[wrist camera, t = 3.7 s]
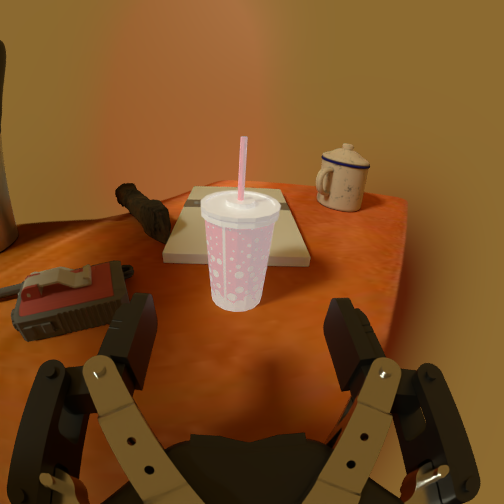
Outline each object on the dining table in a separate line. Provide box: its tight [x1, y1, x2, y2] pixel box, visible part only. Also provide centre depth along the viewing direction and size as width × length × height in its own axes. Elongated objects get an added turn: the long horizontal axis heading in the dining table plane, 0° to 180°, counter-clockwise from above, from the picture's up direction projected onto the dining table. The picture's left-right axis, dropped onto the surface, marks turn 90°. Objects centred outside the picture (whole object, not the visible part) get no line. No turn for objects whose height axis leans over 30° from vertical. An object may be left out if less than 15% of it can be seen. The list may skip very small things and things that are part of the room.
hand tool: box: [115, 183, 171, 244], centre depth 37 cm, size 19×4×5 cm, turn 38°
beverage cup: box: [201, 136, 281, 312], centre depth 21 cm, size 6×6×14 cm
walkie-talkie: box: [0, 261, 134, 342], centre depth 19 cm, size 9×4×20 cm
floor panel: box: [162, 186, 311, 267], centre depth 39 cm, size 16×24×2 cm, turn 3°
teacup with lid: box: [316, 143, 370, 212], centre depth 46 cm, size 12×9×12 cm
